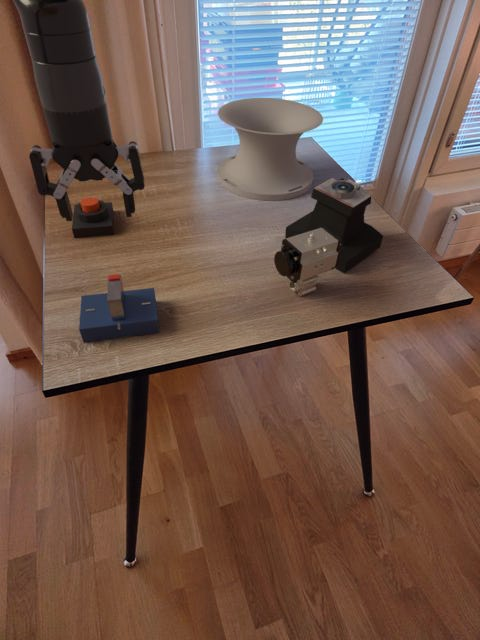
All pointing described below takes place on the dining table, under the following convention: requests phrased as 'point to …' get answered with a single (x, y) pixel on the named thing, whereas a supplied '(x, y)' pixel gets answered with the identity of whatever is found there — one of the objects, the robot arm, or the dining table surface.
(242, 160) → the vase
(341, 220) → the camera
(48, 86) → the robot arm
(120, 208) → the dining table surface
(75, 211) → the button housing
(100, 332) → the toggle switch base
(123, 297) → the toggle switch lever
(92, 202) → the release button
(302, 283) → the pneumatic valve
